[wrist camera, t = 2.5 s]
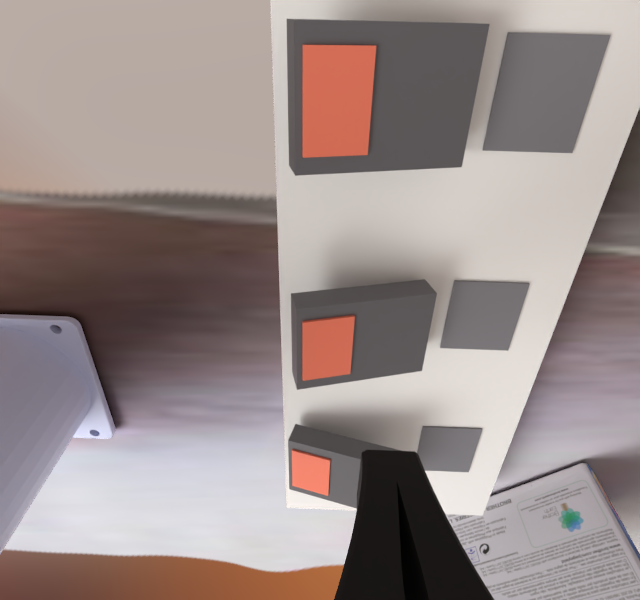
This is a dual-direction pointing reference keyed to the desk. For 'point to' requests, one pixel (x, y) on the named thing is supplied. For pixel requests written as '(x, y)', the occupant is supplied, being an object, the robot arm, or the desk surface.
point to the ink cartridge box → (552, 541)
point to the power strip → (463, 230)
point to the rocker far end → (326, 464)
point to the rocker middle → (360, 332)
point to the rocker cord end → (380, 94)
